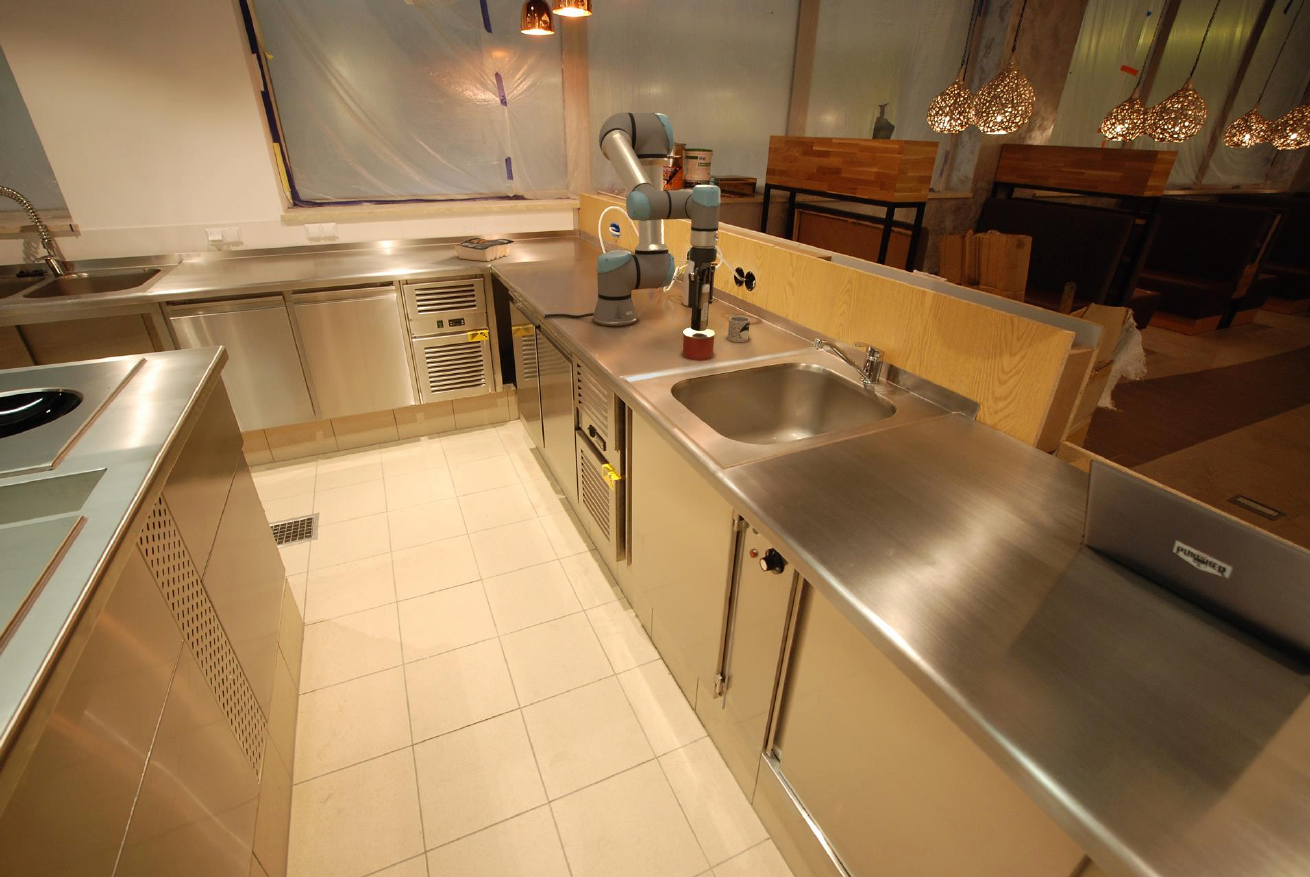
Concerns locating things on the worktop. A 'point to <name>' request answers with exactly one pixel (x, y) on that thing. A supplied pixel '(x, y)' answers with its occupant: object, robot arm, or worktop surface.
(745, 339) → the mug
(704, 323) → the sprinkles bottle
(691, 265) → the milk bottle
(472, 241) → the food packaging
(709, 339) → the tin
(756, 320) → the worktop surface
